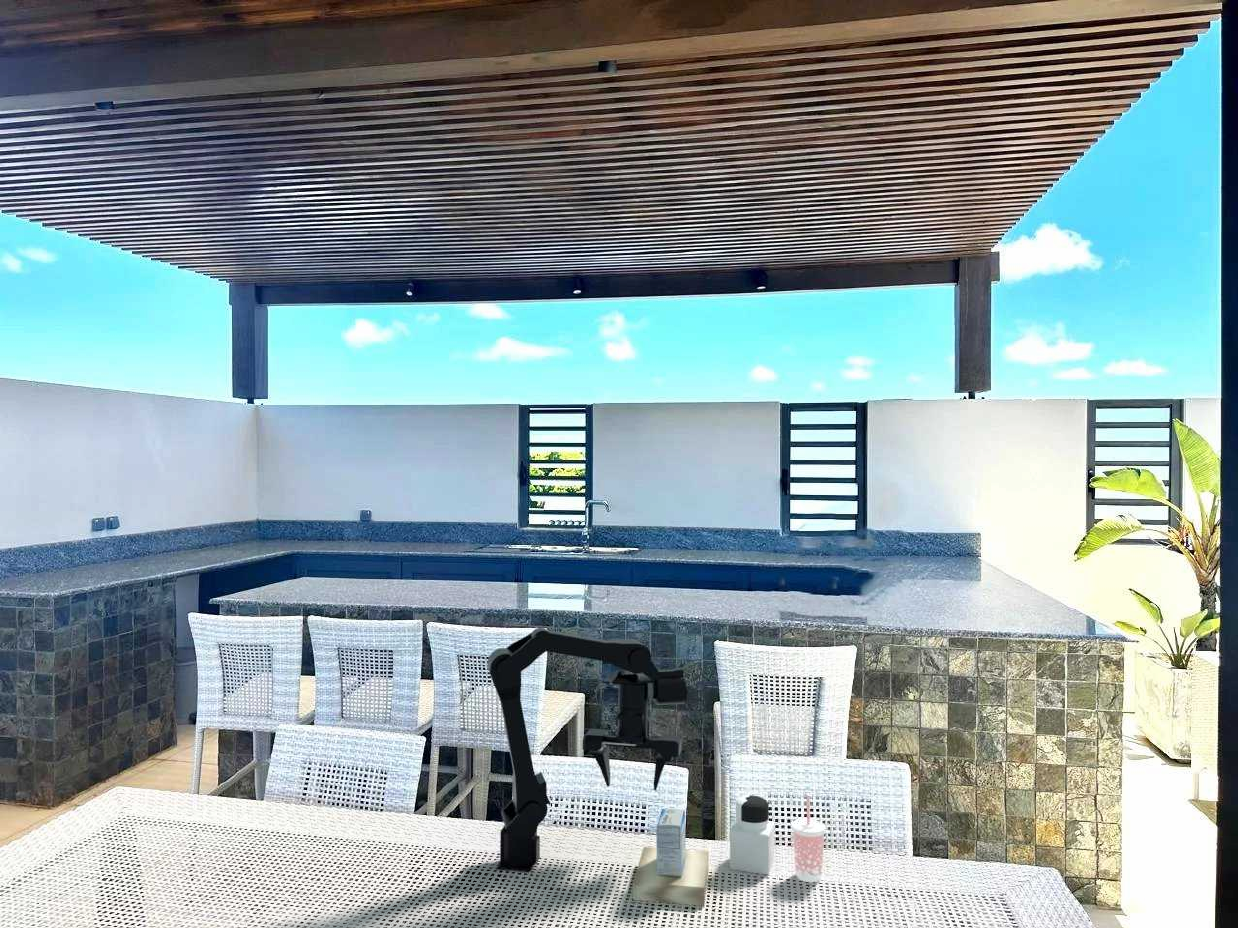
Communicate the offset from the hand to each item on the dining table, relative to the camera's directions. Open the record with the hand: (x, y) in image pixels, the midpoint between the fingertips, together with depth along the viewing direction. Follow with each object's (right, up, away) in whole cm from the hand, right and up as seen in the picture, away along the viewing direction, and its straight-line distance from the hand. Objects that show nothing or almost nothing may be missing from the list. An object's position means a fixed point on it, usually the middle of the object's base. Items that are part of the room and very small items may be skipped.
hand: (631, 787), depth 154 cm
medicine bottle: (+22, -12, -6) cm, 26 cm away
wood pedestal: (+7, -11, -13) cm, 19 cm away
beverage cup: (+32, -12, -10) cm, 35 cm away
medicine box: (+7, -9, -14) cm, 17 cm away
